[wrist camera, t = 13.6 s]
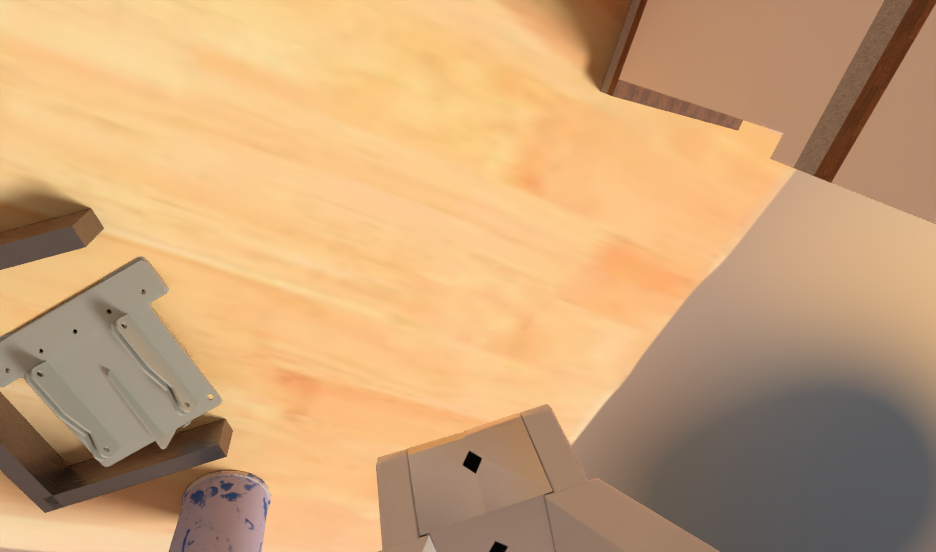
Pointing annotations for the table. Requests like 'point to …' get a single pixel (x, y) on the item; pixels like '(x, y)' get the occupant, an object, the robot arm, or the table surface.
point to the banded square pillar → (799, 83)
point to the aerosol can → (222, 514)
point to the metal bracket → (110, 366)
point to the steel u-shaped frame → (30, 457)
